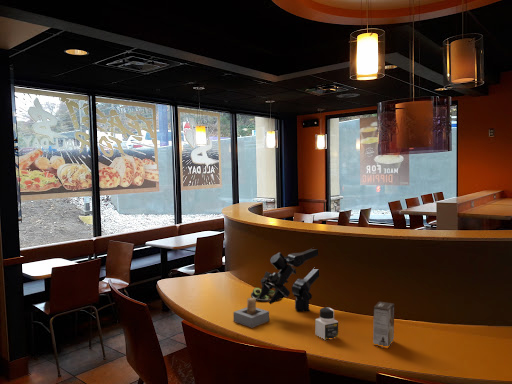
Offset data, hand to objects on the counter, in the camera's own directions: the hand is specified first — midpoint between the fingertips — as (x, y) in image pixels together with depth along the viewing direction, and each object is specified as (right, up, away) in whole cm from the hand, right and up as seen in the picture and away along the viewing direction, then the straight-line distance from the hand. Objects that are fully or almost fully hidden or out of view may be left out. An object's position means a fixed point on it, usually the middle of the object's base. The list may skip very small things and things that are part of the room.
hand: (264, 300), depth 192 cm
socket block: (-6, -9, -4) cm, 11 cm away
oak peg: (-6, -8, -4) cm, 11 cm away
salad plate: (+1, -8, +34) cm, 35 cm away
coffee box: (+49, -10, -28) cm, 57 cm away
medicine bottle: (+26, -10, -21) cm, 35 cm away
